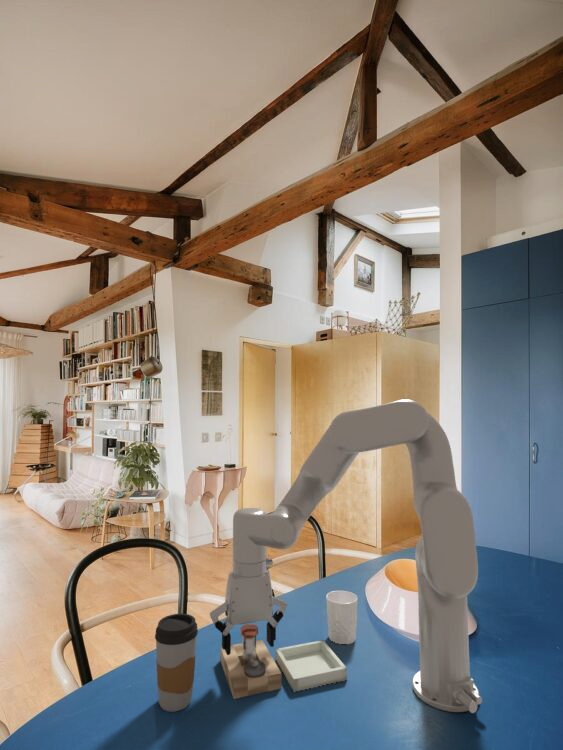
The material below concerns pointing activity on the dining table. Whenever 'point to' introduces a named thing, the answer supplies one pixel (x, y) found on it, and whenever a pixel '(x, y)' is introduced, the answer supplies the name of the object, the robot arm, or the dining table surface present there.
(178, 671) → the coffee cup
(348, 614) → the white cup
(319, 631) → the dining table surface
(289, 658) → the tray
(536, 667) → the dining table surface
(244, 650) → the pin
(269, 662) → the block
